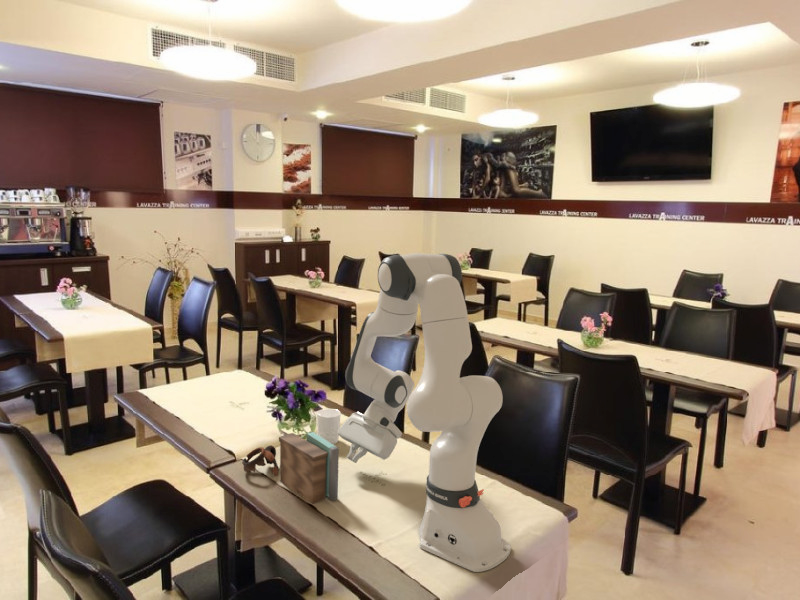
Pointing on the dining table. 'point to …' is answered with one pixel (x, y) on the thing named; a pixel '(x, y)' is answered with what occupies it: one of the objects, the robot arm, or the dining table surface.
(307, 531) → the dining table surface
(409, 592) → the dining table surface
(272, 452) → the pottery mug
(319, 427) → the white cup
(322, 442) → the teal square slab
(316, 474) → the wooden board
